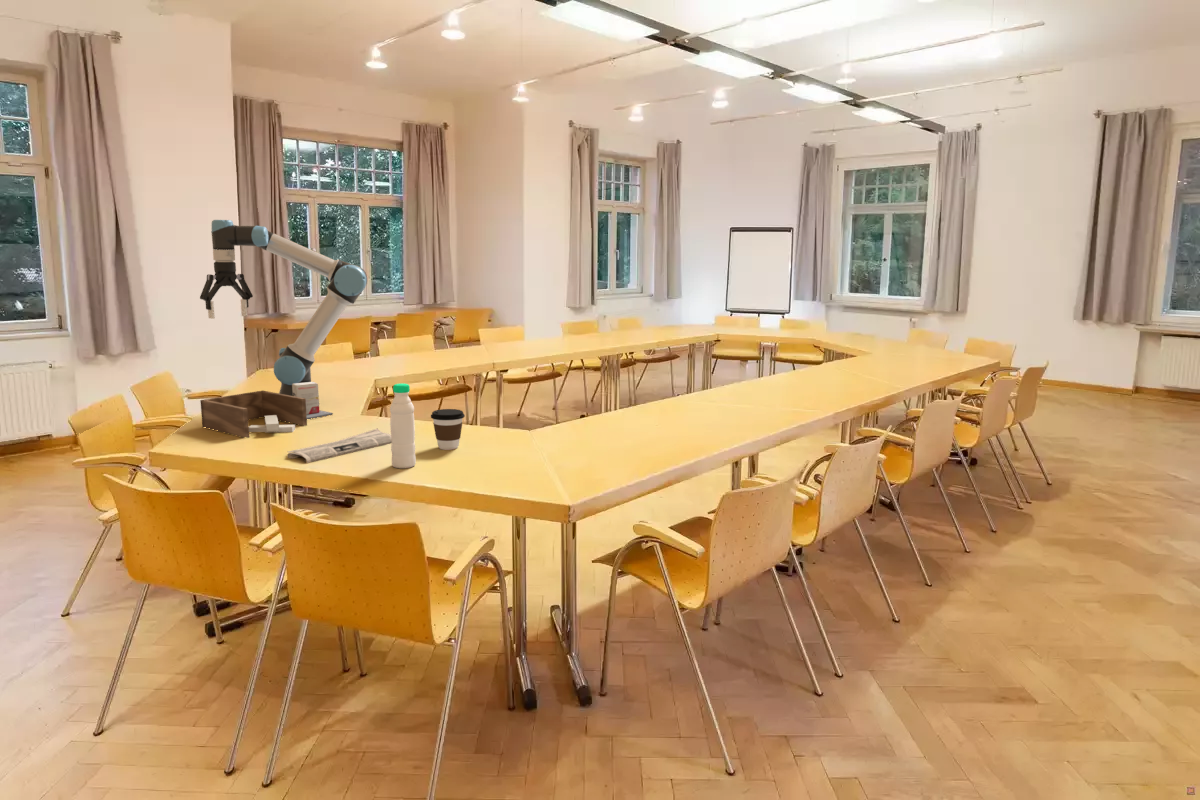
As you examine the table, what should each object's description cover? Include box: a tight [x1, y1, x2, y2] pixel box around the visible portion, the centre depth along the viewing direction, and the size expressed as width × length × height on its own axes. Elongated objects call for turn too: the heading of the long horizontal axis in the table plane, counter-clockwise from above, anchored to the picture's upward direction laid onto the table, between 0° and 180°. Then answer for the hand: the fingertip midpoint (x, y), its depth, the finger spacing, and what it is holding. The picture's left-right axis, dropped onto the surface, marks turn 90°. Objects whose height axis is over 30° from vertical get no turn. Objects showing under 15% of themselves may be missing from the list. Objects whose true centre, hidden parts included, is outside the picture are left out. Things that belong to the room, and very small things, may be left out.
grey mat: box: [306, 409, 334, 420], centre depth 306 cm, size 13×14×1 cm
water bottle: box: [389, 382, 417, 469], centre depth 237 cm, size 7×7×25 cm
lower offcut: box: [249, 424, 296, 433], centre depth 280 cm, size 15×4×2 cm, turn 97°
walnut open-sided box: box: [199, 390, 308, 438], centre depth 286 cm, size 25×26×10 cm
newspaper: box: [286, 428, 392, 464], centre depth 258 cm, size 35×12×4 cm, turn 144°
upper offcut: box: [264, 415, 280, 431], centre depth 280 cm, size 15×4×2 cm, turn 25°
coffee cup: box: [430, 408, 465, 451], centre depth 261 cm, size 11×11×12 cm
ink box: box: [292, 381, 320, 414], centre depth 305 cm, size 9×5×12 cm, turn 130°
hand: (228, 317), depth 305 cm, fingers open, 13 cm apart
